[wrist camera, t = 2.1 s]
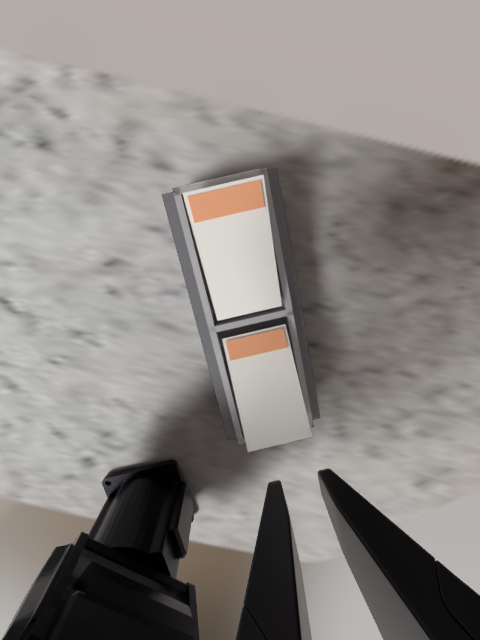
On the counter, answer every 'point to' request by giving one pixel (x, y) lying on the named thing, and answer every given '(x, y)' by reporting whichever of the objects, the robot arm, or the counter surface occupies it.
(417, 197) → the counter surface
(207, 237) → the rocker
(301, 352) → the rocker switch panel
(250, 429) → the block
